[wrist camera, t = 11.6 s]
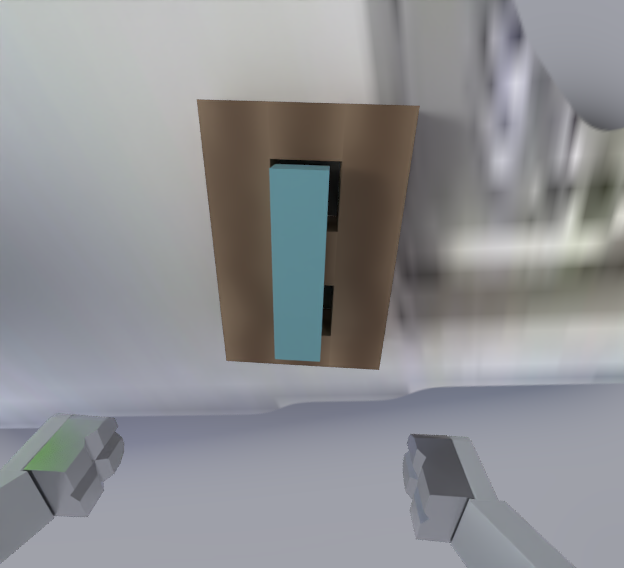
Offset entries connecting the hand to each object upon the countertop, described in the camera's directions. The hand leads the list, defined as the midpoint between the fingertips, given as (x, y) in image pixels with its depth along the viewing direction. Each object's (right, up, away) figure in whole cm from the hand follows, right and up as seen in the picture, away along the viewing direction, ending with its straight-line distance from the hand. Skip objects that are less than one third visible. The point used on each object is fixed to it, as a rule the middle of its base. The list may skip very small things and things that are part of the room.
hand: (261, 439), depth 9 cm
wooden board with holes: (+1, +8, +16) cm, 18 cm away
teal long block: (+1, +8, +16) cm, 18 cm away
